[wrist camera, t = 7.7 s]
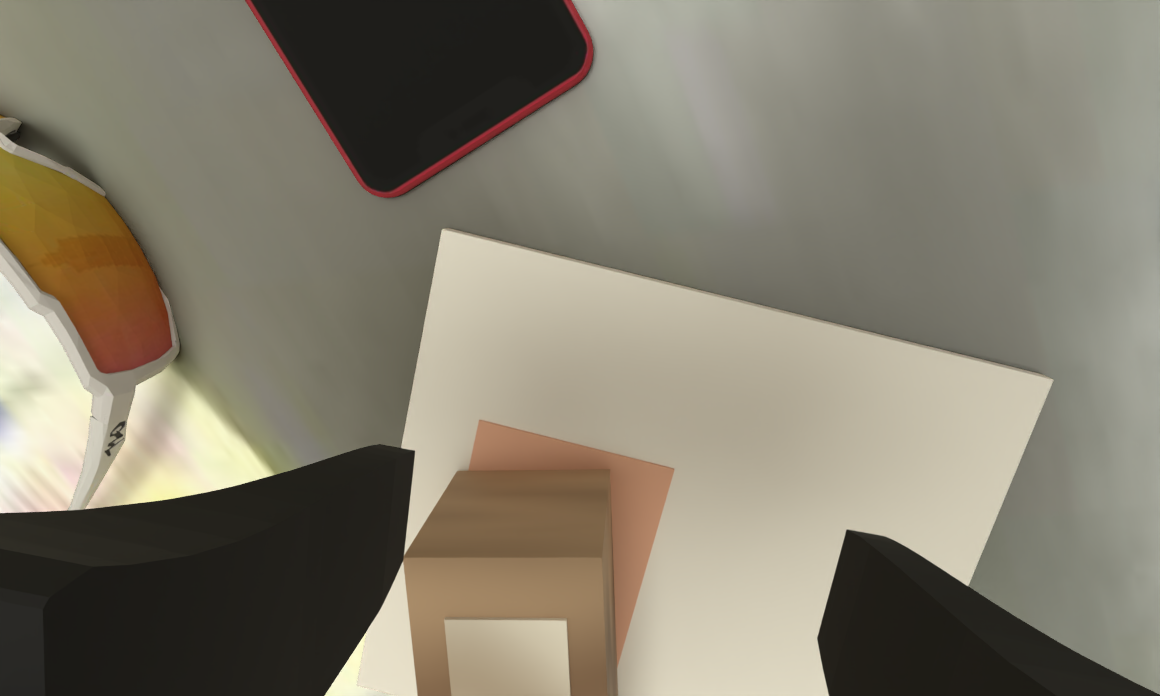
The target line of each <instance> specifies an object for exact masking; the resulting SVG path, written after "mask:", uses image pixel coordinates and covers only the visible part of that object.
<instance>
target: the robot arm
mask: <svg viewBox="0 0 1160 696" xmlns="http://www.w3.org/2000/svg"><path fill="white" fill-rule="evenodd" d="M414 459H415V451H414V450H408V449H403V448H397V447H392V446H386V445H381V444H379V445H372V446H368V447H364V448H360V449H357V450H353V451H350V452H347V453H344V454H341V455H337V456H334V457H331V458H328V459H325V460H322V461H319V462H316V463H313V464H310V465H307V466H304V467H300V468H297V469H294V470H291V471H287V472H284V473H280V474H277V475H273V476H270V477H266V478H263V479H259V480H256V481H252V482H248V483H245V484H241V485H238V486H233V487H229V488H225V489H221V490H216V491H211V492H207V493H201V494H196V495H191V496H185V497H180V498H175V499H168V500H162V501H155V502H146V503H138V504H129V505H120V506H112V507H103V508H95V509H83V510H68V511H51V512H26V513H0V696H324V695H325V694H326V692H327V691H328V689H329V688H330V686H331V685H332V683H333V682H334V680H335V679H336V677H337V676H338V674H339V672H340V671H341V669H342V668H343V666H344V665H345V663H346V662H347V660H348V659H349V657H350V656H351V654H352V653H353V651H354V650H355V648H356V647H357V645H358V644H359V642H360V641H361V639H362V637H363V636H364V634H365V633H366V631H367V630H368V628H369V627H370V625H371V624H372V622H373V620H374V619H375V617H376V616H377V614H378V612H379V611H380V609H381V607H382V605H383V603H384V601H385V599H386V597H387V595H388V593H389V591H390V589H391V587H392V584H393V582H394V580H395V578H396V576H397V573H398V571H399V569H400V567H401V564H402V562H403V560H404V551H405V541H406V532H407V523H408V514H409V505H410V495H411V486H412V477H413V468H414ZM817 641H818V646H819V651H820V657H821V662H822V667H823V672H824V676H825V681H826V685H827V689H828V694H829V696H1160V695H1159V694H1157V693H1155V692H1153V691H1151V690H1149V689H1147V688H1145V687H1142V686H1140V685H1138V684H1136V683H1134V682H1132V681H1130V680H1128V679H1126V678H1125V677H1123V676H1121V675H1119V674H1117V673H1115V672H1113V671H1111V670H1109V669H1107V668H1105V667H1103V666H1101V665H1099V664H1097V663H1096V662H1094V661H1092V660H1090V659H1088V658H1086V657H1084V656H1082V655H1080V654H1079V653H1077V652H1075V651H1073V650H1071V649H1069V648H1068V647H1066V646H1064V645H1062V644H1061V643H1059V642H1057V641H1055V640H1054V639H1052V638H1050V637H1049V636H1047V635H1045V634H1044V633H1042V632H1040V631H1039V630H1037V629H1035V628H1034V627H1032V626H1030V625H1029V624H1027V623H1025V622H1023V621H1022V620H1020V619H1018V618H1017V617H1015V616H1014V615H1012V614H1010V613H1009V612H1007V611H1006V610H1004V609H1002V608H1001V607H999V606H998V605H996V604H995V603H993V602H991V601H990V600H988V599H987V598H985V597H984V596H982V595H981V594H979V593H977V592H976V591H974V590H973V589H971V588H970V587H968V586H967V585H965V584H964V583H962V582H961V581H959V580H958V579H956V578H955V577H953V576H951V575H950V574H948V573H947V572H945V571H944V570H942V569H941V568H939V567H938V566H936V565H935V564H933V563H932V562H930V561H928V560H927V559H925V558H924V557H922V556H921V555H919V554H917V553H916V552H914V551H912V550H911V549H909V548H907V547H906V546H904V545H902V544H900V543H898V542H896V541H895V540H892V539H890V538H888V537H885V536H881V535H876V534H870V533H865V532H859V531H854V530H848V529H847V530H846V533H845V537H844V541H843V545H842V548H841V552H840V556H839V559H838V563H837V567H836V570H835V574H834V578H833V581H832V585H831V589H830V592H829V596H828V600H827V603H826V607H825V611H824V614H823V618H822V622H821V626H820V629H819V633H818V637H817Z"/></svg>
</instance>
